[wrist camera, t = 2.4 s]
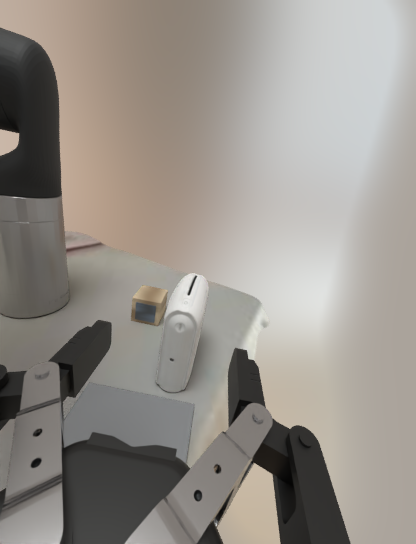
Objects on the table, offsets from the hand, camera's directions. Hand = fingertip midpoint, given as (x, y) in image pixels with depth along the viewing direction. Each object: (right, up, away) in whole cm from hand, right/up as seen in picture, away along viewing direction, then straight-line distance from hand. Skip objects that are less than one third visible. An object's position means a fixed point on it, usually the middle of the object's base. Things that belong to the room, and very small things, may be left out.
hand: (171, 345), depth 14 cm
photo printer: (-2, -8, +16) cm, 18 cm away
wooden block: (-8, -3, +24) cm, 25 cm away
